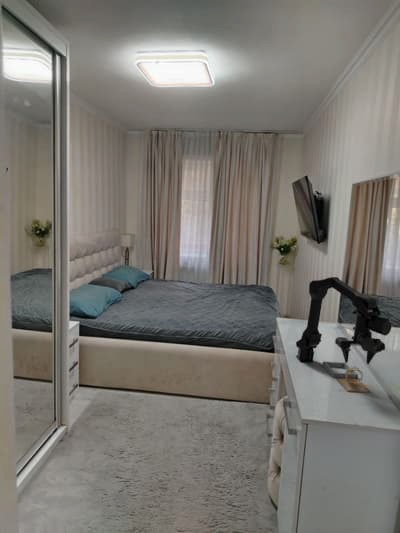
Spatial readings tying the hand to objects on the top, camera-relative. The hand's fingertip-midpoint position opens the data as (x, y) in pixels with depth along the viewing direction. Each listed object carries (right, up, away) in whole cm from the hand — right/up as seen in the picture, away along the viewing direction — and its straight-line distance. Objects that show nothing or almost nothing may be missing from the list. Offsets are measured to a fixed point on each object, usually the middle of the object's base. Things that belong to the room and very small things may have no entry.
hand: (356, 363), depth 152 cm
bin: (-2, -8, +15) cm, 17 cm away
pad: (-1, -10, +2) cm, 10 cm away
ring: (-1, -10, +2) cm, 10 cm away
